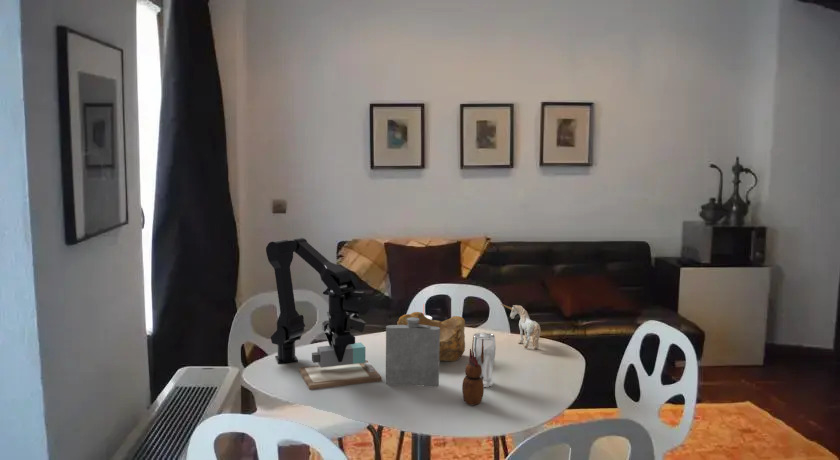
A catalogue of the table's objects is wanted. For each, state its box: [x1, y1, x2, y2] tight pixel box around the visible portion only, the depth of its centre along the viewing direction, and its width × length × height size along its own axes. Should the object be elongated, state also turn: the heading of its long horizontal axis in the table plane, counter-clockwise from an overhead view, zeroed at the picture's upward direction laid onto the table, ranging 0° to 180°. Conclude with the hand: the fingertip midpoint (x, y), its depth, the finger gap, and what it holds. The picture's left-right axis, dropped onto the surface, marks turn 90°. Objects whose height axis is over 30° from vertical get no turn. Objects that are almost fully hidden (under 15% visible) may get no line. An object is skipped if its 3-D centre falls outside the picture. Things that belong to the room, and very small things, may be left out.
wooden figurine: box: [461, 348, 485, 406], centre depth 183 cm, size 7×6×15 cm
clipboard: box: [298, 359, 383, 390], centre depth 203 cm, size 16×22×2 cm
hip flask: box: [385, 317, 440, 387], centre depth 197 cm, size 16×4×20 cm, turn 86°
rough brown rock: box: [396, 311, 466, 362], centre depth 218 cm, size 23×17×15 cm
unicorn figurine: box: [500, 303, 541, 350], centre depth 237 cm, size 7×20×13 cm, turn 34°
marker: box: [311, 342, 366, 368], centre depth 205 cm, size 5×16×5 cm, turn 111°
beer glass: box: [471, 332, 497, 388], centre depth 198 cm, size 7×7×15 cm
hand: (338, 359), depth 205 cm, fingers closed on marker, 5 cm apart
